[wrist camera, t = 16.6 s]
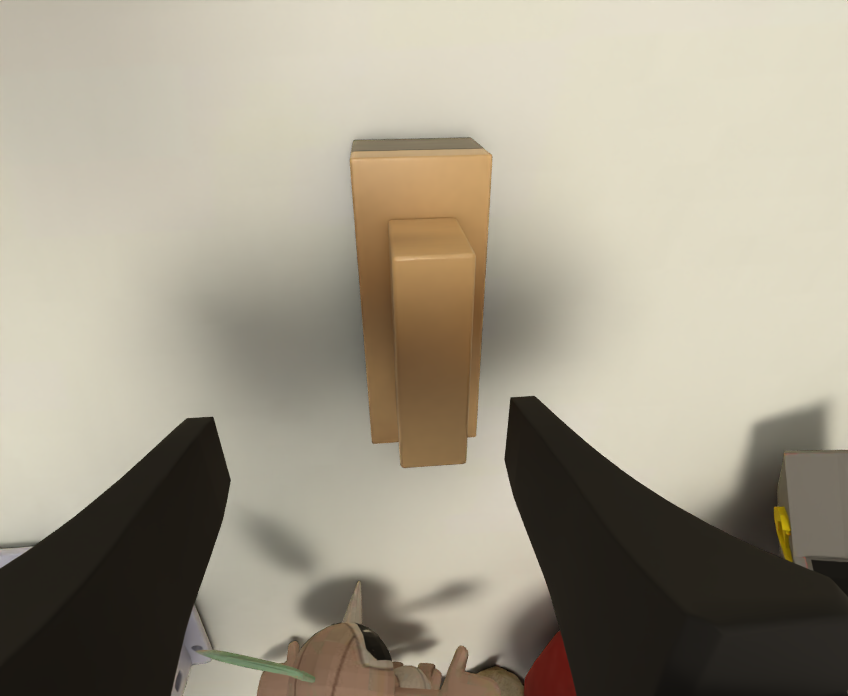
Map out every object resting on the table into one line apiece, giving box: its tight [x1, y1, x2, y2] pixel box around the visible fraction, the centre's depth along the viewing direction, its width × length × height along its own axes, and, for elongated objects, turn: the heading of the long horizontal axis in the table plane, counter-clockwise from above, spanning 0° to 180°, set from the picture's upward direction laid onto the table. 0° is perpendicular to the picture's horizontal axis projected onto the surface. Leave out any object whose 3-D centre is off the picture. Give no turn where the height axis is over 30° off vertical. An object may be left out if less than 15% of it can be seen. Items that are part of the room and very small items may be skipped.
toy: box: [195, 581, 501, 696], centre depth 22 cm, size 13×7×15 cm
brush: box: [350, 138, 492, 468], centre depth 14 cm, size 9×4×6 cm, turn 0°
